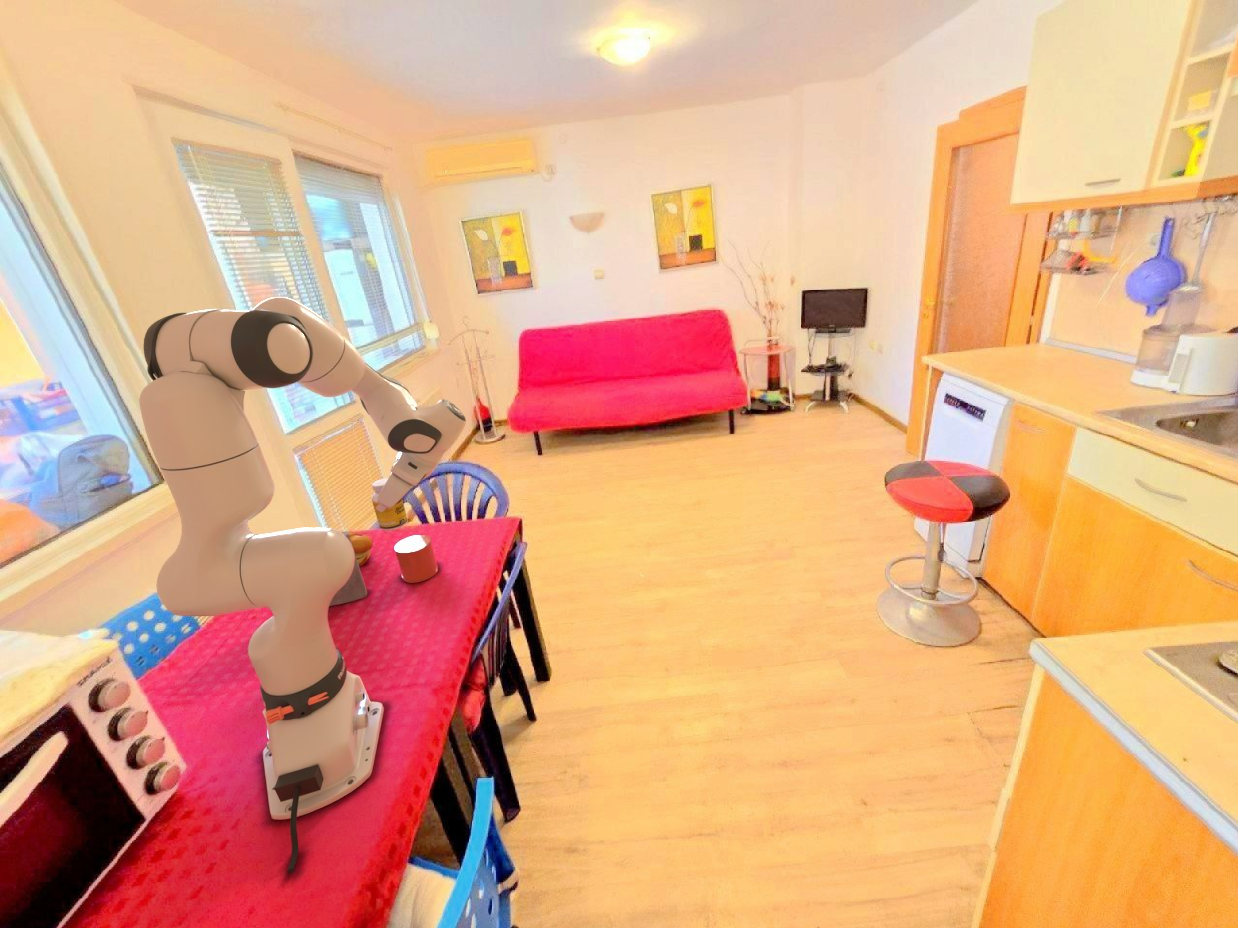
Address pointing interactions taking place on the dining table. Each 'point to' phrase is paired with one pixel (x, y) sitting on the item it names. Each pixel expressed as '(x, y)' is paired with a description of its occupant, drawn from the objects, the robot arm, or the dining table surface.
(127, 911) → the dining table surface
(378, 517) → the pill bottle
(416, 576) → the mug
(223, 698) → the dining table surface
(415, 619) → the dining table surface
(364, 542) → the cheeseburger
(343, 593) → the hip flask
